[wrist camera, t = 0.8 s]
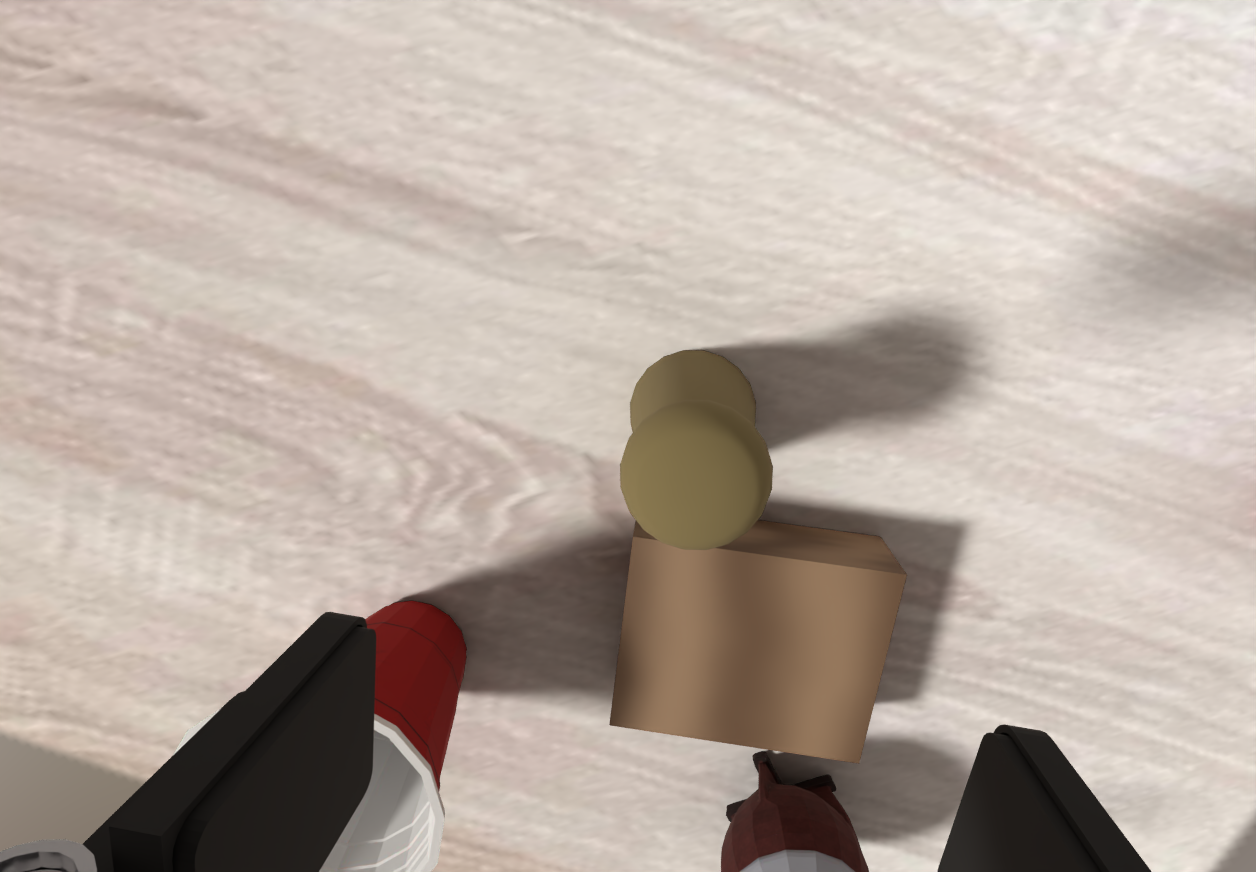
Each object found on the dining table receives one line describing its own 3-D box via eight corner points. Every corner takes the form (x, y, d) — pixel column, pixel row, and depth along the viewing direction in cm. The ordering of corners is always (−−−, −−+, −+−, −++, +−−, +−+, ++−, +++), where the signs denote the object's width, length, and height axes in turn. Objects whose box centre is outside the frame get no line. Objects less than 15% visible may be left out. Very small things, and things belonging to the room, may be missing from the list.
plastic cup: (548, 697, 36) (485, 902, 25) (382, 748, 38) (251, 961, 27) (463, 527, 34) (350, 666, 23) (290, 591, 36) (104, 749, 24)
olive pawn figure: (722, 327, 30) (742, 365, 20) (777, 439, 31) (823, 533, 21) (607, 385, 31) (568, 451, 21) (664, 492, 33) (655, 605, 22)
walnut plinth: (880, 536, 32) (906, 574, 28) (839, 707, 35) (858, 763, 31) (639, 503, 33) (632, 536, 29) (617, 674, 36) (609, 725, 32)
